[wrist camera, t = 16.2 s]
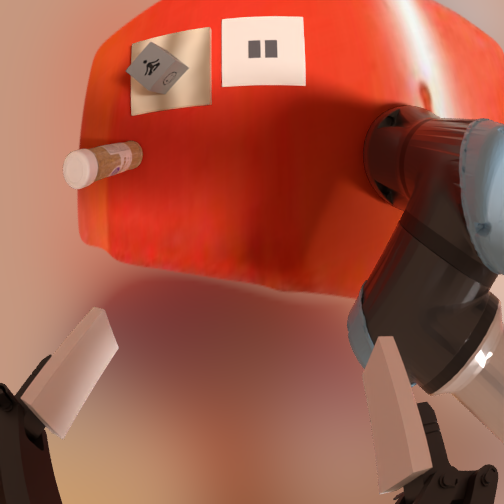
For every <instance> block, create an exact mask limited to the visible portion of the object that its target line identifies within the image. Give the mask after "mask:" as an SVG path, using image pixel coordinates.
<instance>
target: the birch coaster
mask: <svg viewBox="0 0 504 504" xmlns="http://www.w3.org/2000/svg"><path fill="white" fill-rule="evenodd" d="M150 42H153V43H155V44H156V45H158V46H160V47H162V48H164V49H165V50H167V51H168V52H170V53H171V54H172V55H174V56H175V57H176V58H177V59H179V60H180V61H181V62H183V63H184V64H185V65H186V66H188V67H189V69H188V70H187V71H186V72H185V73H184V74H183V75H182V76H181V77H180V78H179V80H178V81H177V82H176V83H175V84H174V85H173V86H172V87H171V88H170V90H169V91H168V92H167V93H166V94H161V93H156V92H152V91H148V90H147V89H146V88H145V87H144V86H143V85H141V84H140V83H139V82H138V81H137V80H136V79H134V78H133V77H132V76H131V116H135V115H140V114H146V113H151V112H157V111H164V110H170V109H178V108H186V107H195V106H205V105H212V95H211V28H210V27H206V28H199V29H193V30H187V31H182V32H177V33H172V34H168V35H163V36H159V37H155V38H151V39H148V40H144V41H140V42H137V43H134V44H132V55H131V64H132V62H133V61H134V60H135V59H136V58H137V56H138V55H139V54H140V53H141V52H142V51H143V50H144V48H145V47H146V46H147V45H148V44H149V43H150Z"/></svg>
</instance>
